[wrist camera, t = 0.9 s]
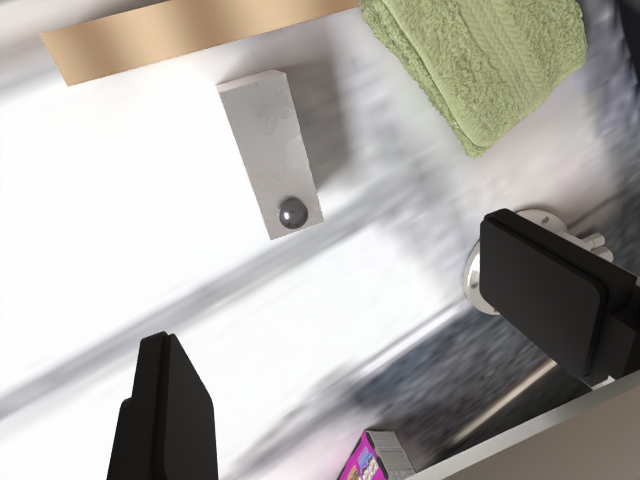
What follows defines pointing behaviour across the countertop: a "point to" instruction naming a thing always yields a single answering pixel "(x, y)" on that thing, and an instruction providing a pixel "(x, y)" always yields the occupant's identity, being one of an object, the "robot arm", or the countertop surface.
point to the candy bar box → (378, 458)
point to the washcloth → (482, 56)
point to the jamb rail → (171, 32)
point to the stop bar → (272, 150)
